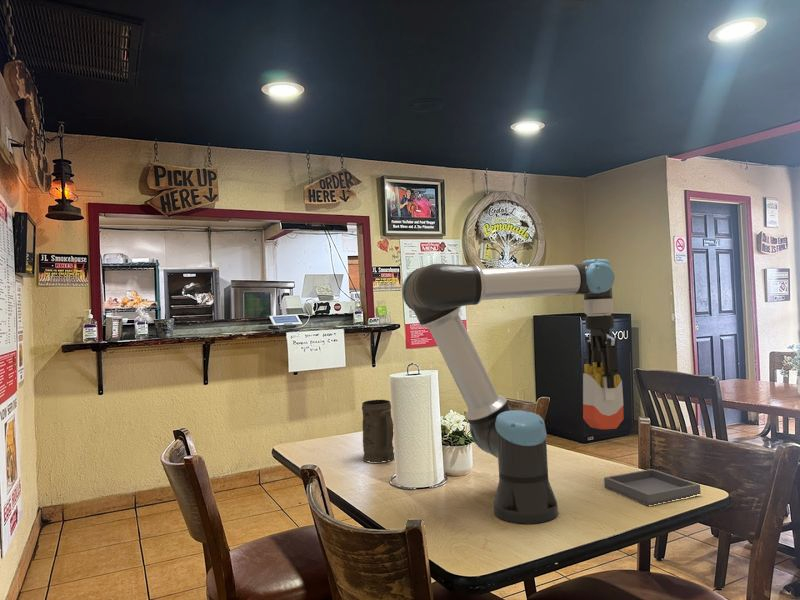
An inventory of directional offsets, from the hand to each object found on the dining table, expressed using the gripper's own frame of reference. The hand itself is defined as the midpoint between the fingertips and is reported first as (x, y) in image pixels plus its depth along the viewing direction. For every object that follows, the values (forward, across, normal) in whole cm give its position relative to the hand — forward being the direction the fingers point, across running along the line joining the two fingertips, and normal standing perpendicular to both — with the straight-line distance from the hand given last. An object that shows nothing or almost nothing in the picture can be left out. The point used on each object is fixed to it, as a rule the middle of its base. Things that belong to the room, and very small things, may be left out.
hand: (603, 398), depth 158 cm
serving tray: (+23, -12, -5) cm, 26 cm away
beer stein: (+23, +44, +57) cm, 76 cm away
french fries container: (+8, -1, +1) cm, 8 cm away
